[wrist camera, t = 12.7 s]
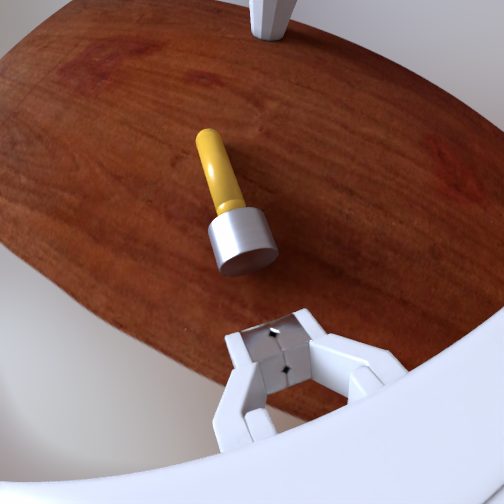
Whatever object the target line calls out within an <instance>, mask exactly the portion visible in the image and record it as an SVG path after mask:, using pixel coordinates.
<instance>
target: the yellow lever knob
mask: <svg viewBox="0 0 504 504" xmlns="http://www.w3.org/2000/svg"><path fill="white" fill-rule="evenodd" d="M196 145H197V148H198V152H199V155H200V158H201V162H202V165H203V168H204V172H205V175H206V178H207V182H208V185H209V188H210V192H211V195H212V198H213V202H214V205H215V208H216V211H217V214H218V217H217V218H216V219H215V220H214V221H213V222H212V223H211V224H210V226H209V229H208V233H209V237H210V240H211V244H212V247H213V250H214V254H215V257H216V261H217V264H218V268H219V271H220V273H221V274H222V275H224V276H230V277H235V276H243V275H247V274H251V273H254V272H256V271H259V270H261V269H263V268H265V267H267V266H268V265H270V264H271V263H273V262H274V261H275V260H276V259H277V257H278V254H279V252H278V249H277V246H276V244H275V241H274V238H273V236H272V233H271V231H270V228H269V225H268V223H267V220H266V218H265V215H264V213H263V212H262V211H261V210H260V209H257V208H254V207H246V205H245V201H244V199H243V196H242V193H241V191H240V188H239V185H238V182H237V180H236V177H235V174H234V171H233V169H232V166H231V163H230V161H229V158H228V155H227V152H226V150H225V147H224V144H223V142H222V139H221V136H220V134H219V133H218V132H217V131H216V130H214V129H209V128H208V129H204V130H202V131H201V132H199V134H198V135H197V138H196Z"/></svg>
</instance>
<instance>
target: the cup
mask: <svg viewBox="0 0 504 504" xmlns="http://www.w3.org/2000/svg"><path fill="white" fill-rule="evenodd" d="M296 2H297V0H249V3H250V17H251V30H252V34H253V35H254V36H255V37H257V38H259V39H261V40H267V41H276V40H279V39H281V38H283V36H284V33H285V30H286V28H287V25H288V22H289V20H290V17H291V14H292V12H293V9H294V7H295V4H296Z"/></svg>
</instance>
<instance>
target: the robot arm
mask: <svg viewBox="0 0 504 504" xmlns="http://www.w3.org/2000/svg"><path fill="white" fill-rule="evenodd" d="M225 340H226V343H227V347H228V350H229V353H230V356H231V359H232V362H233V365H234V368H235V369H234V370H232V373H231V375H230V378H229V381H228V383H227V386H226V388H225V391H224V393H223V396H222V398H221V401H220V404H219V406H218V409H217V411H216V414H215V416H214V419H213V421H212V424H213V427H214V431H215V434H216V438H217V441H218V444H219V448H220V451H221V453H219V454H216V455H212V456H209V457H205V458H201V459H197V460H193V461H189V462H185V463H181V464H177V465H173V466H168V467H163V468H158V469H153V470H148V471H143V472H137V473H131V474H125V475H117V476H110V477H102V478H94V479H84V480H72V481H55V482H4V481H0V504H504V307H503V308H502V309H501V310H499V311H498V312H497V313H495V314H494V315H493V316H492V317H490V318H489V319H488V320H486V321H485V322H484V323H482V324H481V325H480V326H478V327H477V328H476V329H474V330H473V331H472V332H470V333H469V334H467V335H466V336H464V337H463V338H462V339H460V340H459V341H457V342H456V343H454V344H453V345H451V346H450V347H448V348H447V349H445V350H444V351H442V352H441V353H439V354H438V355H436V356H435V357H433V358H431V359H430V360H428V361H427V362H425V363H423V364H422V365H420V366H418V367H417V368H415V369H413V370H412V371H410V372H408V371H407V370H406V369H405V368H404V367H403V366H402V364H401V363H400V362H399V361H398V360H397V359H396V358H395V357H394V356H393V355H392V354H391V353H390V351H387V350H384V349H380V348H377V347H374V346H370V345H367V344H364V343H361V342H357V341H354V340H351V339H348V338H345V337H341V336H338V335H335V334H332V333H331V334H328V335H327V333H326V332H325V331H324V330H323V328H322V327H321V326H320V325H319V323H318V322H317V321H316V320H315V318H314V317H313V316H312V315H311V313H310V312H309V311H308V310H307V309H305V308H304V309H302V310H299V311H297V312H294V313H292V314H290V315H287V316H284V317H281V318H279V319H276V320H273V321H270V322H267V323H265V324H261V325H258V326H255V327H252V328H249V329H246V330H242V331H239V332H237V333H233V334H230V335H227V336H225ZM311 378H312V380H314V381H316V382H318V383H320V384H322V385H324V386H326V387H328V388H330V389H332V390H334V391H336V392H338V393H340V394H341V395H343V396H345V397H347V398H348V405H346V406H344V407H342V408H340V409H337V410H335V411H333V412H331V413H329V414H326V415H324V416H322V417H319V418H317V419H315V420H312V421H310V422H308V423H305V424H303V425H300V426H298V427H295V428H293V429H290V430H288V431H285V432H282V433H280V434H278V433H277V431H276V429H275V427H274V425H273V423H272V421H271V419H270V416H269V414H268V412H267V410H266V409H264V408H265V404H266V399H267V395H269V394H272V393H275V392H277V391H280V390H282V389H284V388H287V387H289V386H292V385H295V384H298V383H300V382H303V381H306V380H308V379H311Z"/></svg>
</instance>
